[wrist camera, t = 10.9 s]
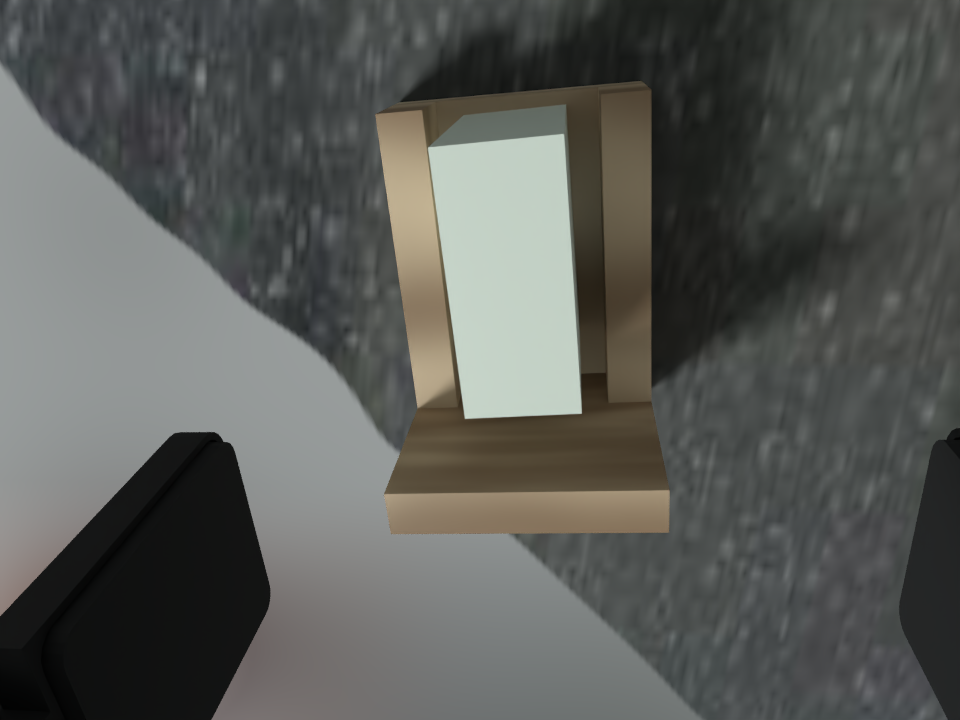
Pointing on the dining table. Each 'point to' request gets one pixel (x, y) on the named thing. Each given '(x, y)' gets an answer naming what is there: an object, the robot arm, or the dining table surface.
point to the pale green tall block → (510, 261)
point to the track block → (603, 339)
